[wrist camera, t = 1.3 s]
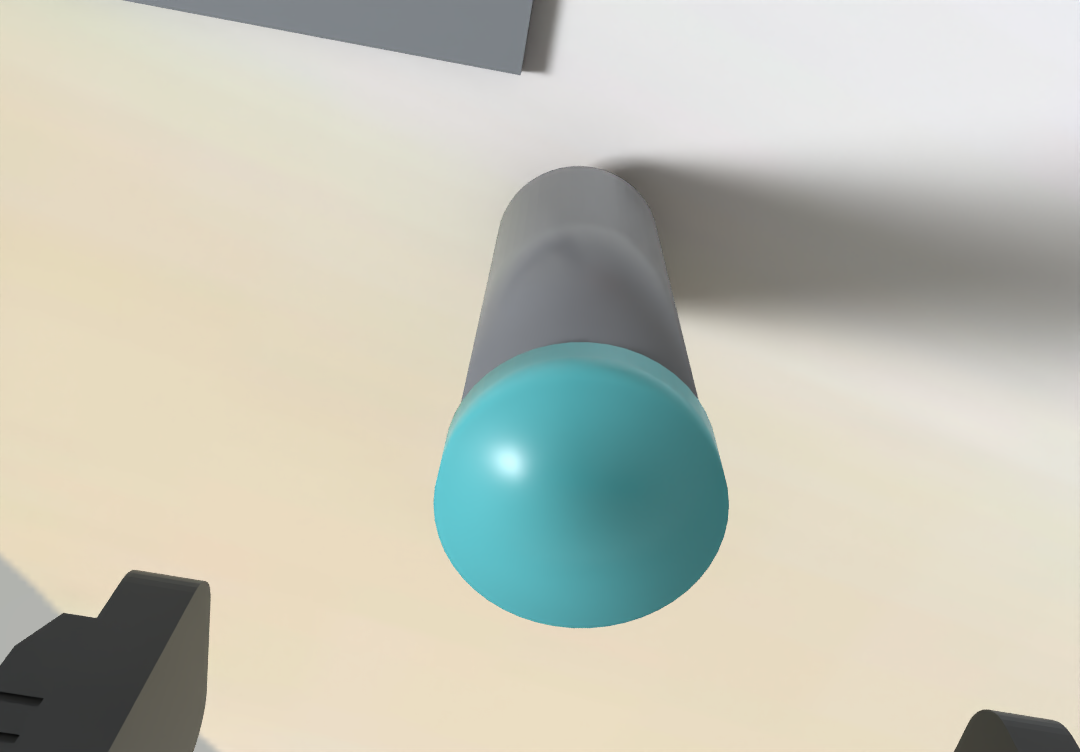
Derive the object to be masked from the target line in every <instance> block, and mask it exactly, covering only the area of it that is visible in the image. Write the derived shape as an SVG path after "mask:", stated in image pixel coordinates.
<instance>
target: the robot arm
mask: <svg viewBox="0 0 1080 752" xmlns="http://www.w3.org/2000/svg"><path fill="white" fill-rule="evenodd" d="M209 623H210V587H209V584H208V582H206V581H201V580H194V579H188V578H182V577H176V576H169V575H163V574H157V573H151V572H145V571H138V570H132V571H130V572H128V573H127V574H126V575H125V577H124V578H123V579H122V581H121V582H120V584H119V585H118V587H117V588H116V590H115V591H114V593H113V594H112V596H111V597H110V599H109V600H108V602H107V603H106V605H105V606H104V608H103V609H102V611H101V612H100V614H99V616H98V617H97V618H92V617H86V616H79V615H73V614H67V613H63V614H61V615H60V616H58V617H57V618H55V619H54V620H52V621H51V622H49V623H48V624H47V625H45V626H43V627H42V628H41V629H39V630H38V631H36V632H35V633H33V634H32V635H30V636H29V637H27V638H26V639H24V640H23V641H21V642H20V643H18V644H17V645H16V646H14V648H13V649H12V650H11V652H10V653H9V654H8V656H7V657H6V658H5V660H4V661H3V663H2V664H1V665H0V752H193V751H194V748H195V745H196V742H197V738H198V735H199V731H200V728H201V723H202V719H203V714H204V709H205V702H206V693H207V671H208V647H209ZM954 752H1080V749H1079V747H1078V745H1077V744H1076V742H1075V740H1074V738H1073V737H1072V735H1071V734H1070V732H1069V731H1068V730H1067V729H1066V728H1065V727H1064V726H1063V725H1062V724H1061V723H1059V722H1057V721H1054V720H1049V719H1043V718H1036V717H1030V716H1024V715H1018V714H1012V713H1005V712H999V711H993V710H981V711H979V712H977V713H976V714H975V715H974V716H973V717H972V718H971V720H970V721H969V723H968V725H967V727H966V729H965V731H964V733H963V735H962V737H961V739H960V741H959V743H958V745H957V747H956V749H955V751H954Z"/></svg>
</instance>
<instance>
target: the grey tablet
mask: <svg viewBox="0 0 1080 752" xmlns="http://www.w3.org/2000/svg"><path fill="white" fill-rule="evenodd" d="M125 1H130V2H135V3H141V4H146V5H151V6H156V7H162V8H167V9H172V10H178V11H183V12H188V13H194V14H199V15H204V16H209V17H215V18H220V19H225V20H231V21H236V22H241V23H247V24H252V25H257V26H262V27H268V28H273V29H278V30H284V31H289V32H294V33H300V34H305V35H310V36H315V37H321V38H326V39H331V40H337V41H342V42H347V43H353V44H358V45H363V46H368V47H374V48H379V49H384V50H390V51H395V52H400V53H406V54H411V55H416V56H421V57H427V58H432V59H437V60H443V61H448V62H453V63H459V64H464V65H469V66H474V67H480V68H485V69H490V70H496V71H501V72H506V73H512V74H517V75H521V71H522V65H523V59H524V53H525V47H526V41H527V35H528V29H529V23H530V17H531V11H532V4H533V0H125Z"/></svg>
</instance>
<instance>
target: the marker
mask: <svg viewBox="0 0 1080 752" xmlns="http://www.w3.org/2000/svg"><path fill="white" fill-rule="evenodd" d="M728 509H729V500H728V488H727V484H726V480H725V476H724V472H723V468H722V464H721V460H720V456H719V452H718V448H717V444H716V440H715V437H714V433H713V429H712V426H711V423H710V421H709V419H708V416H707V414H706V412H705V410H704V408H703V407H702V405H701V403H700V402H699V400H698V397H697V392H696V388H695V384H694V380H693V376H692V372H691V368H690V364H689V359H688V355H687V351H686V347H685V343H684V339H683V335H682V331H681V326H680V322H679V318H678V314H677V310H676V306H675V302H674V298H673V293H672V289H671V285H670V281H669V277H668V273H667V269H666V265H665V260H664V256H663V252H662V248H661V244H660V240H659V236H658V232H657V228H656V224H655V220H654V217H653V215H652V212H651V210H650V208H649V206H648V205H647V203H646V201H645V200H644V199H643V197H642V196H641V195H640V193H639V192H638V191H637V190H636V189H635V188H634V187H633V186H631V185H630V184H629V183H627V182H626V181H625V180H623V179H622V178H620V177H618V176H616V175H615V174H612V173H610V172H607V171H605V170H601V169H597V168H593V167H584V166H572V167H565V168H559V169H556V170H552V171H549V172H547V173H545V174H542V175H540V176H538V177H537V178H535V179H533V180H532V181H530V182H529V183H528V184H526V185H525V186H524V187H523V188H522V189H521V190H520V191H519V192H518V193H517V194H516V195H515V196H514V198H513V199H512V200H511V202H510V203H509V205H508V207H507V208H506V210H505V212H504V215H503V217H502V220H501V223H500V227H499V231H498V236H497V240H496V245H495V250H494V254H493V259H492V263H491V268H490V272H489V277H488V282H487V286H486V291H485V295H484V300H483V305H482V309H481V314H480V318H479V323H478V328H477V332H476V337H475V341H474V346H473V350H472V355H471V360H470V364H469V369H468V373H467V378H466V383H465V387H464V392H463V396H462V401H461V404H460V405H459V407H458V409H457V411H456V412H455V414H454V417H453V419H452V422H451V424H450V427H449V430H448V434H447V438H446V442H445V447H444V451H443V455H442V460H441V464H440V468H439V473H438V477H437V481H436V486H435V493H434V515H435V523H436V527H437V531H438V535H439V538H440V541H441V543H442V546H443V548H444V551H445V553H446V554H447V556H448V558H449V559H450V561H451V563H452V565H453V566H454V567H455V569H456V570H457V571H458V572H459V574H460V575H461V576H462V578H463V579H464V580H465V581H466V582H467V583H468V584H469V585H470V586H471V587H472V588H473V589H474V590H476V591H477V592H478V593H479V594H481V595H482V596H483V597H485V598H486V599H487V600H489V601H490V602H492V603H494V604H495V605H497V606H499V607H500V608H502V609H504V610H506V611H508V612H510V613H512V614H515V615H517V616H519V617H522V618H525V619H528V620H531V621H534V622H538V623H542V624H547V625H552V626H559V627H568V628H594V627H605V626H611V625H616V624H621V623H626V622H629V621H632V620H635V619H638V618H641V617H644V616H646V615H648V614H651V613H653V612H655V611H657V610H659V609H661V608H663V607H664V606H666V605H668V604H670V603H671V602H673V601H674V600H676V599H677V598H678V597H680V596H681V595H682V594H684V593H685V592H686V591H687V590H688V589H690V588H691V587H692V586H693V585H694V584H695V583H696V582H697V581H698V580H699V579H700V577H701V576H702V575H703V574H704V572H705V571H706V570H707V568H708V567H709V566H710V564H711V562H712V561H713V559H714V557H715V556H716V554H717V552H718V550H719V547H720V545H721V542H722V540H723V537H724V534H725V530H726V525H727V521H728Z"/></svg>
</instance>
